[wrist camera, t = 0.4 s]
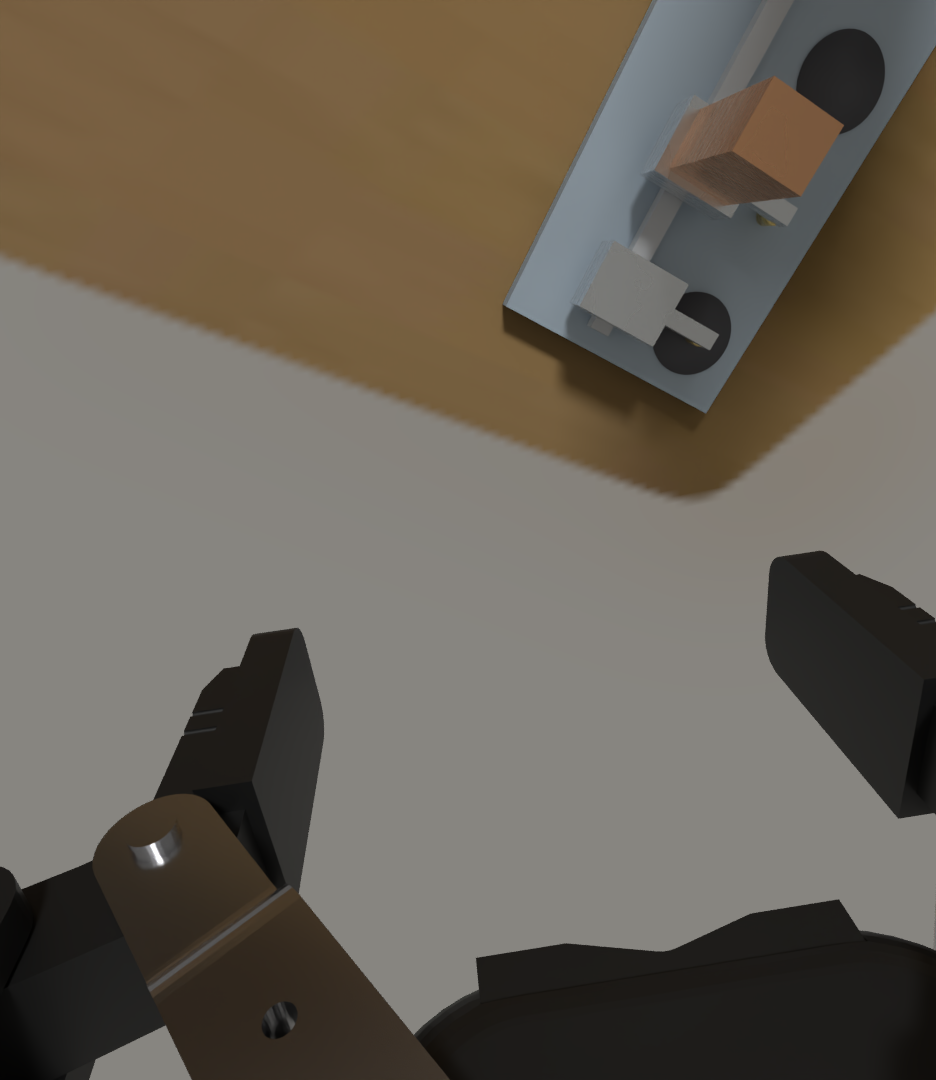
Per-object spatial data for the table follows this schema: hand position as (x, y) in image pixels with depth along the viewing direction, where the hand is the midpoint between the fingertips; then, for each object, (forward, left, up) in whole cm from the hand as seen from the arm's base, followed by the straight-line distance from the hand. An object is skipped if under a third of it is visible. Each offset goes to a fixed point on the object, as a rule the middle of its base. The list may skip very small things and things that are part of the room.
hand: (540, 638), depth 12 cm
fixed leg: (-7, +7, -24) cm, 26 cm away
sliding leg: (-13, +7, -24) cm, 29 cm away
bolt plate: (-14, +7, -26) cm, 30 cm away
